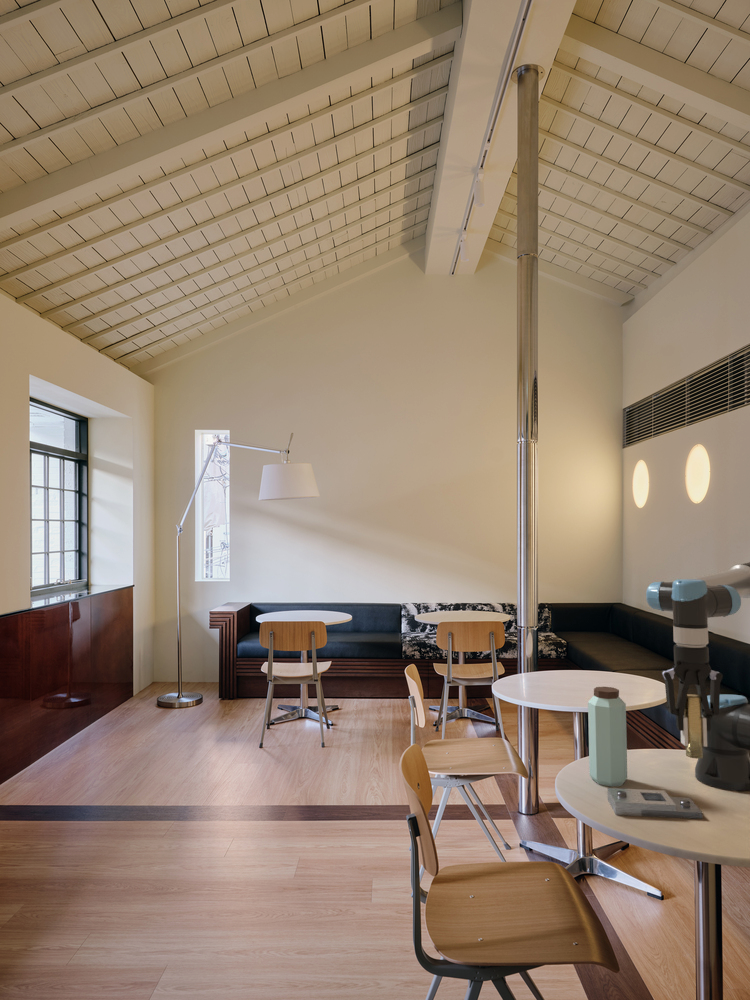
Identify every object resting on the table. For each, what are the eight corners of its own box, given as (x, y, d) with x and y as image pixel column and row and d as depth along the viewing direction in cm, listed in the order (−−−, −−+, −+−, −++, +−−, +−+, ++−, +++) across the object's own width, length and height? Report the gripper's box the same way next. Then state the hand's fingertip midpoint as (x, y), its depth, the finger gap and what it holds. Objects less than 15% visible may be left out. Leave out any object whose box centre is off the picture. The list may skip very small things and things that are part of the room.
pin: (699, 753, 157) (697, 694, 157) (705, 758, 153) (703, 698, 154) (683, 753, 157) (682, 693, 158) (689, 758, 154) (687, 697, 154)
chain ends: (689, 803, 166) (689, 788, 166) (702, 819, 157) (702, 803, 157) (607, 799, 169) (607, 785, 169) (615, 814, 160) (615, 799, 160)
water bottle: (630, 789, 176) (628, 694, 177) (591, 786, 178) (589, 692, 179) (624, 775, 186) (622, 685, 187) (587, 773, 188) (585, 684, 189)
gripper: (721, 642, 159) (724, 740, 158) (649, 641, 161) (652, 738, 160) (734, 647, 152) (737, 750, 151) (659, 646, 154) (662, 748, 153)
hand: (693, 744), depth 155 cm, fingers closed on pin, 3 cm apart
